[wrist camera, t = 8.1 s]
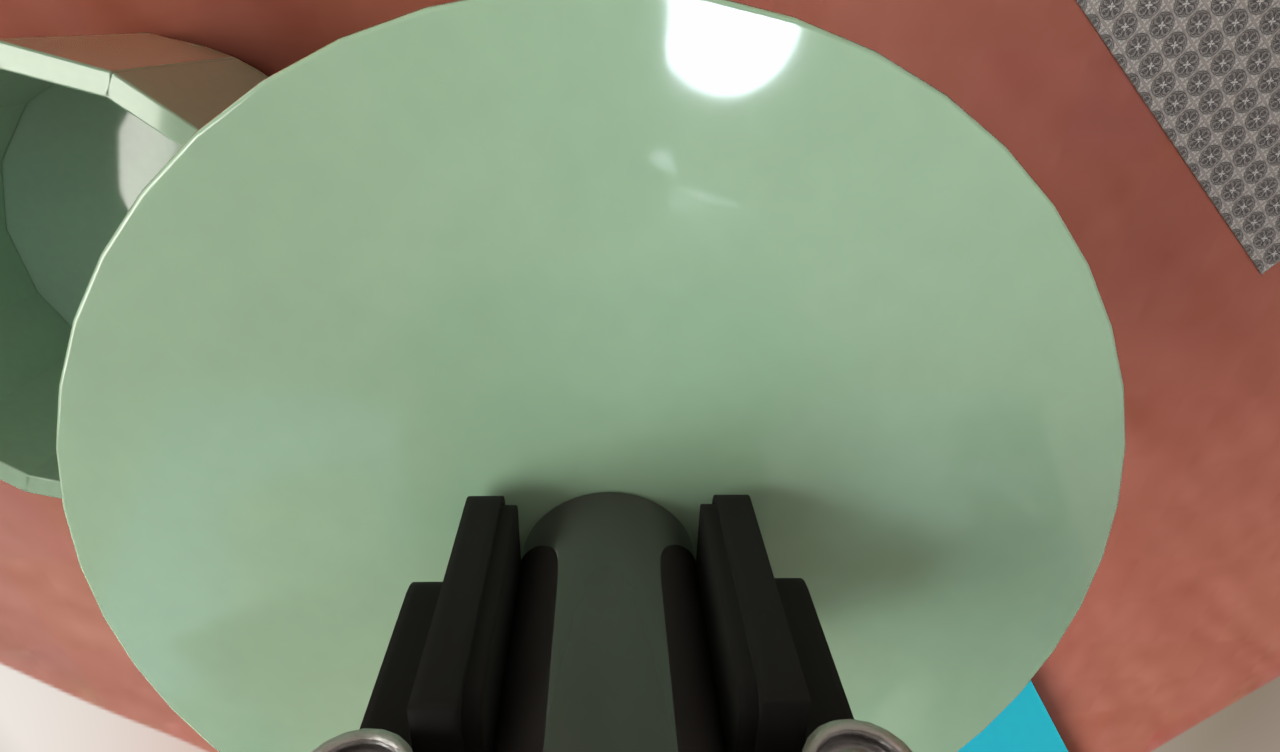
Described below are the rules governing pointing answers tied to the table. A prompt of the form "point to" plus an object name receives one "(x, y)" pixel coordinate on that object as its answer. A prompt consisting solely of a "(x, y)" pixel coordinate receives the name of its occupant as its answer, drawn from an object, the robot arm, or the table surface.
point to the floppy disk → (1019, 728)
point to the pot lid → (589, 376)
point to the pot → (79, 196)
